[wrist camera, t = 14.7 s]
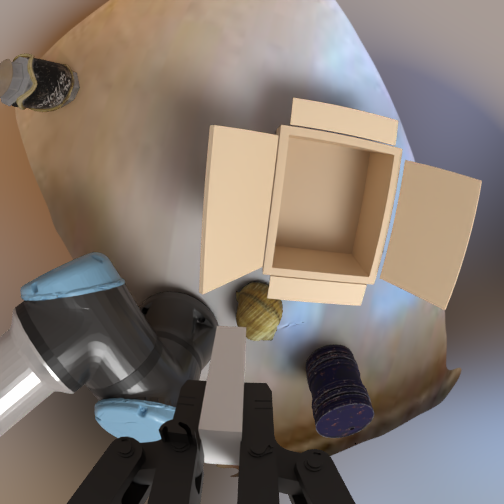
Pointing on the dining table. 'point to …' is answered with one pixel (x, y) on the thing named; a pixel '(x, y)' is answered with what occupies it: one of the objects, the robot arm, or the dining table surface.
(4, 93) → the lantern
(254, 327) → the seashell
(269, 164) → the flap
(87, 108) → the dining table surface
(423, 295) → the flap
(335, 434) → the dark blue barrel
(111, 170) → the dining table surface
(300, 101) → the carton
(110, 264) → the robot arm
